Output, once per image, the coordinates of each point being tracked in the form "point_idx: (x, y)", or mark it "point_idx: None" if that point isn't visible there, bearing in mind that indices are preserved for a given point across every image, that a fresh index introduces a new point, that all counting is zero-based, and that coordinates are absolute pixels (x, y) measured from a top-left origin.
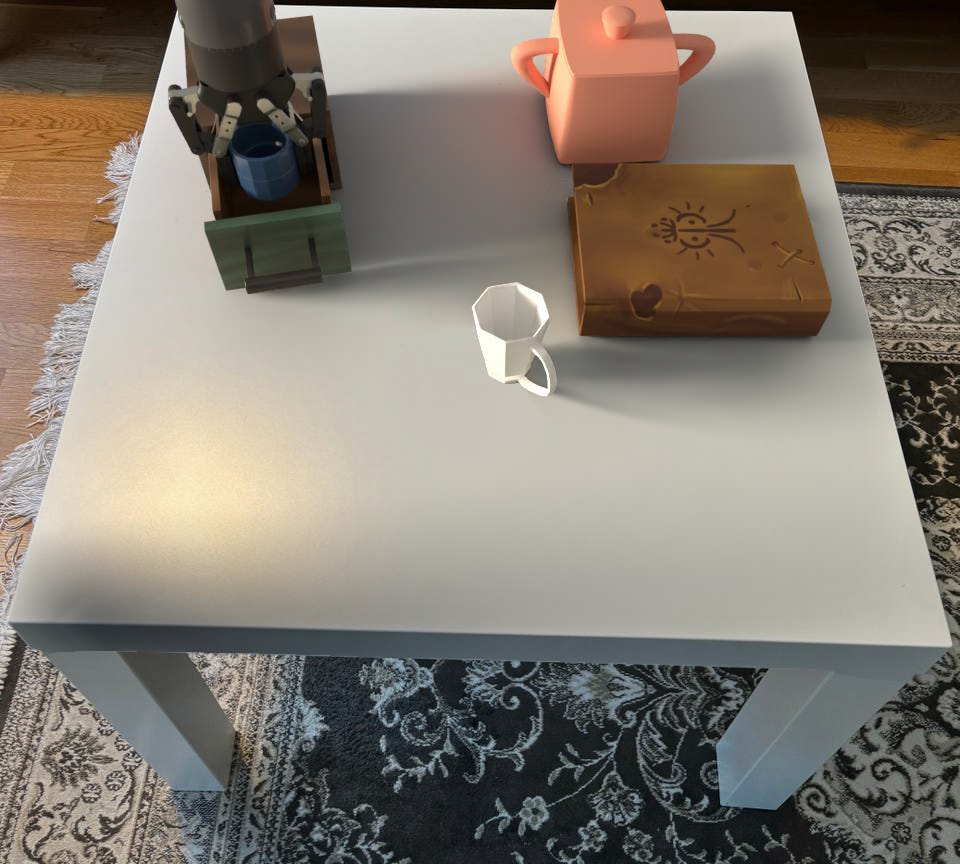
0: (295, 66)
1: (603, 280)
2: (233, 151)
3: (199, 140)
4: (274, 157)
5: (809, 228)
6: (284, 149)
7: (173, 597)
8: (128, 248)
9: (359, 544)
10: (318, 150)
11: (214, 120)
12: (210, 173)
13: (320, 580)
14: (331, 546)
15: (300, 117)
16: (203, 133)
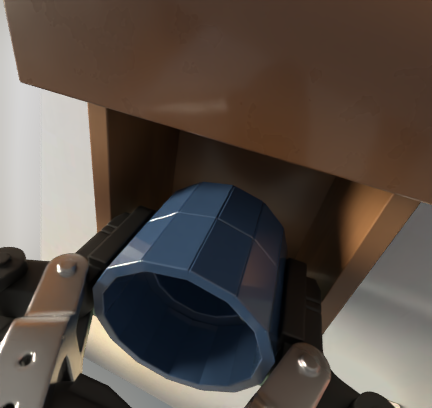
0: None
1: None
2: (106, 329)
3: (1, 339)
4: (196, 387)
5: None
6: (226, 390)
7: (108, 365)
8: (50, 94)
9: (204, 403)
10: (348, 281)
11: (87, 80)
12: (97, 215)
13: (179, 400)
14: (189, 395)
15: (317, 403)
16: (14, 295)
